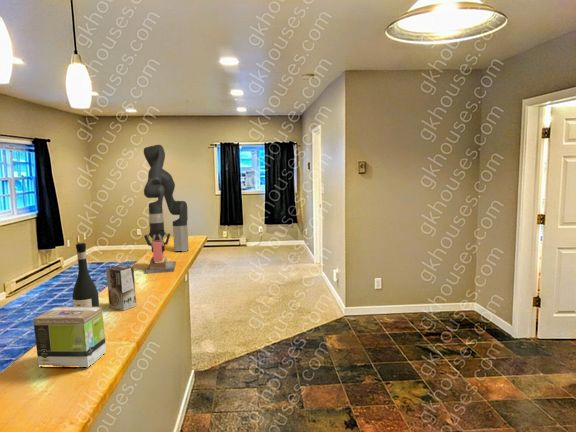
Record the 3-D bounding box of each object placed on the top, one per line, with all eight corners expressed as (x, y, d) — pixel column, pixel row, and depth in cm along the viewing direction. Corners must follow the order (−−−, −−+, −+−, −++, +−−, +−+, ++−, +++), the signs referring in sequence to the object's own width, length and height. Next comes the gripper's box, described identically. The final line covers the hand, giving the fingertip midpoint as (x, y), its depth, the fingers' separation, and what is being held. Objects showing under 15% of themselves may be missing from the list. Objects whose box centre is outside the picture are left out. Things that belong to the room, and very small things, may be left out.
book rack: (150, 265, 230) (149, 256, 229) (175, 263, 233) (175, 254, 232) (146, 273, 212) (145, 263, 212) (173, 271, 215) (173, 261, 215)
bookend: (165, 263, 228) (165, 256, 227) (173, 262, 229) (172, 255, 228) (164, 267, 218) (164, 260, 218) (172, 267, 219) (171, 259, 219)
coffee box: (137, 305, 163) (134, 266, 161) (123, 311, 157) (120, 270, 155) (122, 302, 167) (119, 264, 165) (108, 307, 162) (105, 268, 160)
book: (153, 262, 216) (152, 243, 214) (156, 257, 227) (155, 239, 226) (161, 261, 217) (160, 243, 215) (163, 256, 228) (162, 239, 227)
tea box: (107, 353, 122) (103, 305, 120) (87, 369, 112) (83, 318, 110) (60, 352, 123) (55, 305, 121) (37, 368, 113) (31, 317, 111)
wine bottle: (90, 333, 136) (82, 246, 133) (70, 332, 138) (61, 245, 134) (105, 324, 144) (98, 241, 141) (86, 323, 146) (78, 241, 142)
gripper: (141, 223, 214) (143, 255, 216) (169, 221, 217) (171, 253, 219) (143, 221, 222) (145, 252, 224) (170, 220, 225) (172, 250, 227)
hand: (158, 252), depth 221 cm, fingers closed on book, 4 cm apart
